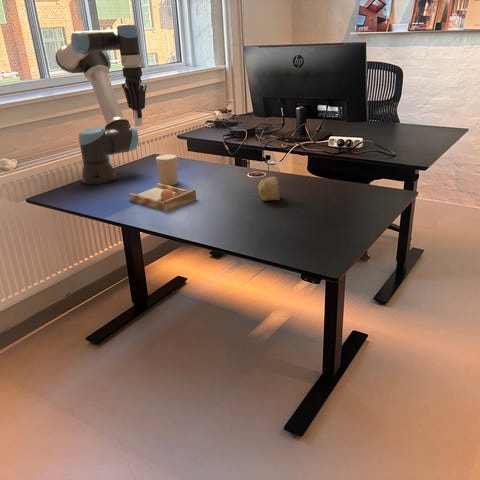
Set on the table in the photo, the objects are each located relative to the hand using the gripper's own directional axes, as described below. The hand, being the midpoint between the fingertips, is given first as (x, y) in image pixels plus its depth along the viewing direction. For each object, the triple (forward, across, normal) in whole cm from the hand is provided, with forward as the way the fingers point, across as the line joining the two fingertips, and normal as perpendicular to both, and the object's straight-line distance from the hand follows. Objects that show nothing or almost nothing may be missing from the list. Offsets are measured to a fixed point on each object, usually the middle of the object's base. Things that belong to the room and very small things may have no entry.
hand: (139, 125), depth 198 cm
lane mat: (+26, +20, -9) cm, 34 cm away
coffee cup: (+27, +6, +8) cm, 28 cm away
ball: (+24, +23, -9) cm, 34 cm away
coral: (+27, +56, +15) cm, 64 cm away
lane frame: (+26, +20, -9) cm, 34 cm away
